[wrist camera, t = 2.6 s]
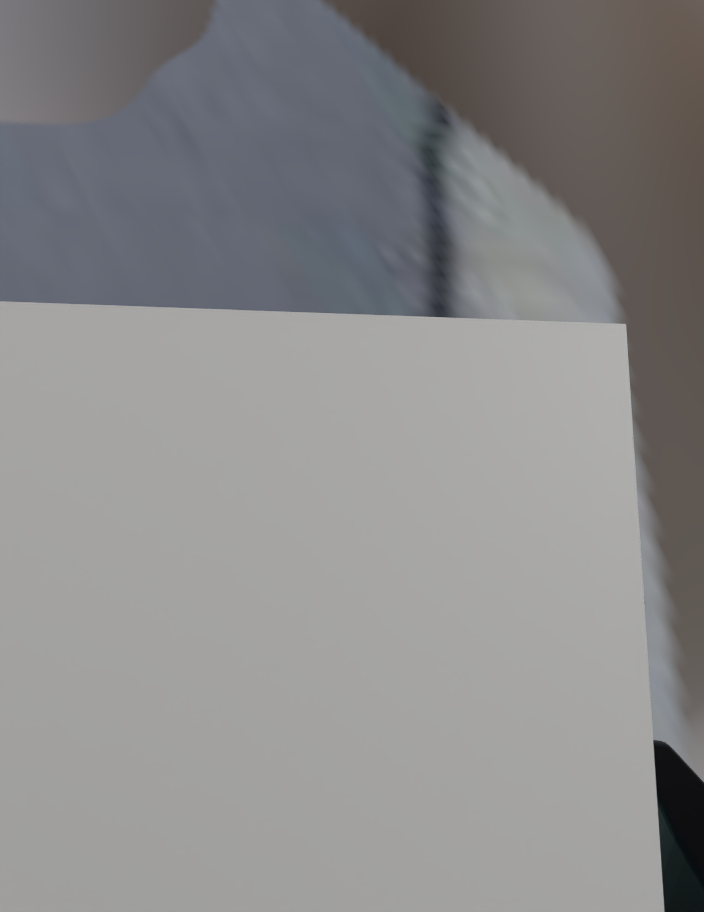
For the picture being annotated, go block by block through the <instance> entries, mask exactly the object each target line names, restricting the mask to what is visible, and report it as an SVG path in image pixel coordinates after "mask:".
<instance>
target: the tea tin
mask: <svg viewBox="0 0 704 912" xmlns="http://www.w3.org/2000/svg"><path fill="white" fill-rule="evenodd" d="M0 912H664V897H663V882H662V867H661V852H660V837H659V821H658V806H657V791H656V776H655V761H654V745H653V730H652V715H651V700H650V684H649V669H648V654H647V639H646V624H645V608H644V593H643V578H642V563H641V548H640V532H639V517H638V502H637V487H636V472H635V456H634V441H633V426H632V411H631V396H630V380H629V365H628V350H627V335H626V324H608V323H580V322H552V321H525V320H497V319H470V318H442V317H414V316H387V315H359V314H332V313H304V312H276V311H249V310H221V309H193V308H166V307H138V306H111V305H83V304H55V303H28V302H0Z"/></svg>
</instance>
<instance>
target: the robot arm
mask: <svg viewBox="0 0 704 912" xmlns="http://www.w3.org/2000/svg"><path fill="white" fill-rule="evenodd" d="M653 745H654V761H655V776H656V791H657V806H658V821H659V837H660V852H661V867H662V882H663V897H664V912H704V782H703V781H702V780H701V779H700V778H699V777H698V776H697V774H696V773H695V772H694V771H693V770H692V769H691V768H690V767H689V766H688V765H687V764H686V763H685V762H684V760H683V759H682V758H681V757H680V756H679V755H678V754H677V753H676V752H675V751H674V750H673V749H672V748H671V747H670V746H669V745H668V744H666V743H665V742H662V741H658V740H653Z"/></svg>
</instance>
